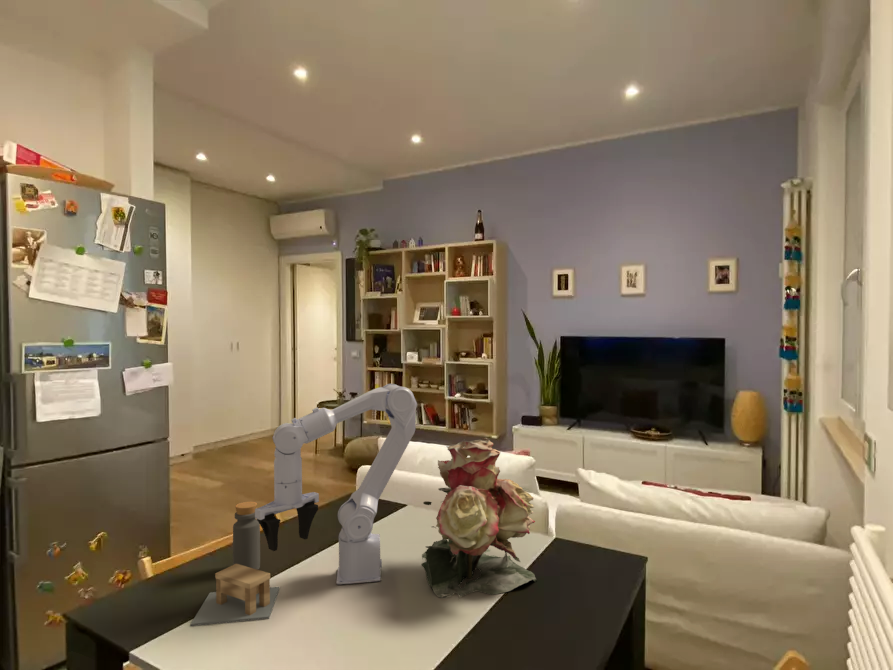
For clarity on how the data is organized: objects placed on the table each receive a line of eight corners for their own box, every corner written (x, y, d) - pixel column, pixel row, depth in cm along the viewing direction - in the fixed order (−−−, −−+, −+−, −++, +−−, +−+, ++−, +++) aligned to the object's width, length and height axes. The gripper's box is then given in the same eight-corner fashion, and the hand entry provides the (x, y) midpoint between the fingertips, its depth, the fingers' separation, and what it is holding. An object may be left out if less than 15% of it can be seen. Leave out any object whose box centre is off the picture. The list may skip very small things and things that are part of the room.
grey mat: (279, 588, 109) (279, 586, 109) (269, 618, 97) (269, 616, 97) (209, 594, 107) (209, 592, 107) (190, 626, 95) (190, 623, 95)
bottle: (250, 575, 115) (250, 509, 115) (227, 573, 116) (227, 507, 116) (265, 564, 121) (264, 501, 121) (242, 562, 122) (242, 499, 122)
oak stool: (215, 603, 102) (215, 573, 102) (236, 592, 107) (236, 563, 107) (250, 615, 98) (249, 584, 98) (270, 603, 102) (270, 573, 102)
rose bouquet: (438, 611, 100) (436, 457, 100) (414, 551, 128) (413, 431, 128) (559, 595, 105) (558, 449, 105) (510, 541, 134) (509, 426, 134)
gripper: (268, 491, 101) (268, 560, 101) (327, 475, 113) (327, 537, 113) (249, 485, 106) (249, 551, 106) (307, 471, 117) (308, 530, 117)
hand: (288, 543), depth 110 cm, fingers open, 7 cm apart
